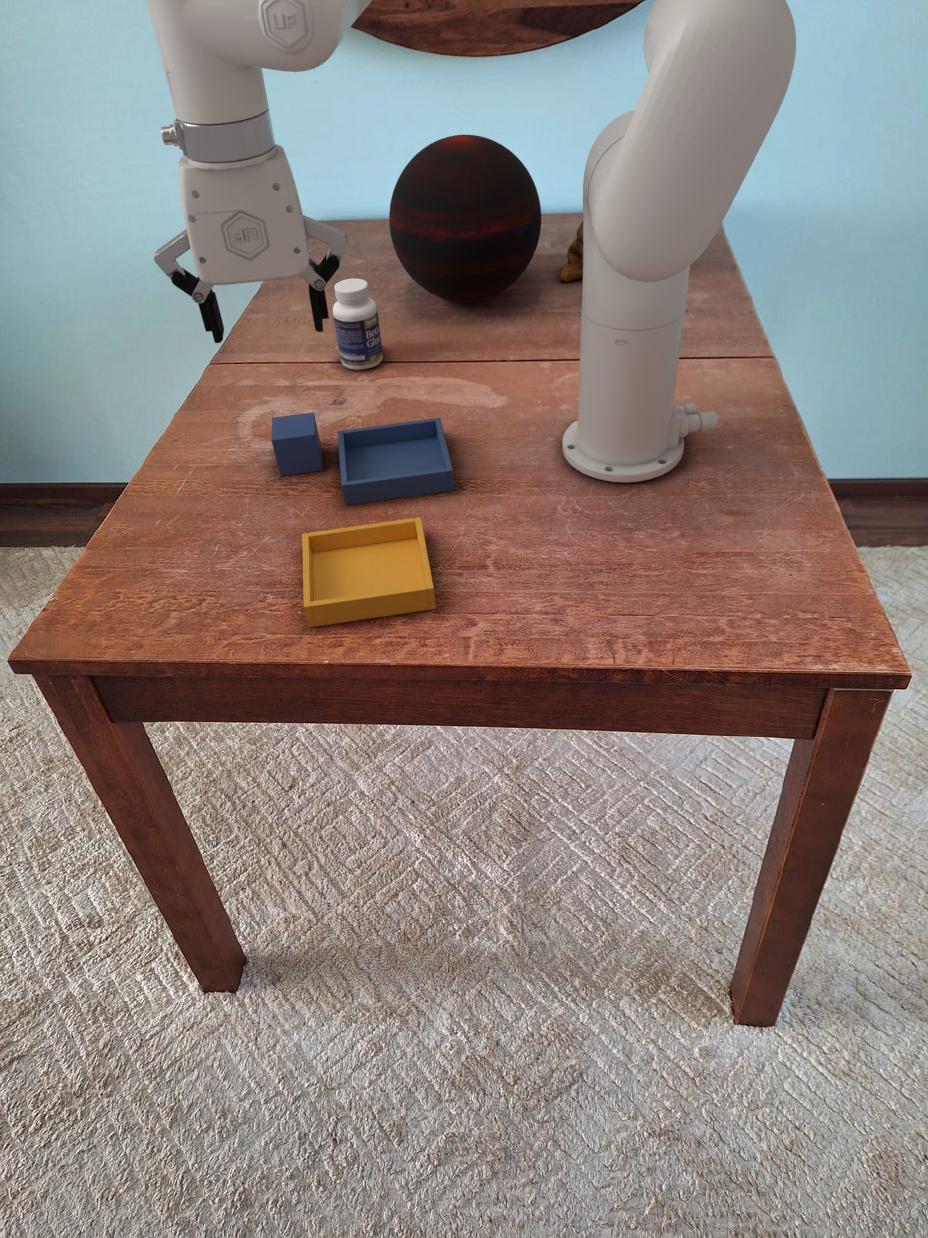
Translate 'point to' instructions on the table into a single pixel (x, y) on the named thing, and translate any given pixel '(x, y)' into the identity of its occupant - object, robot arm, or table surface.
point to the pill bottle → (357, 325)
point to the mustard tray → (366, 572)
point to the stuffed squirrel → (574, 258)
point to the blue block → (296, 444)
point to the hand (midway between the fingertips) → (269, 331)
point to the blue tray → (394, 461)
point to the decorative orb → (465, 218)
